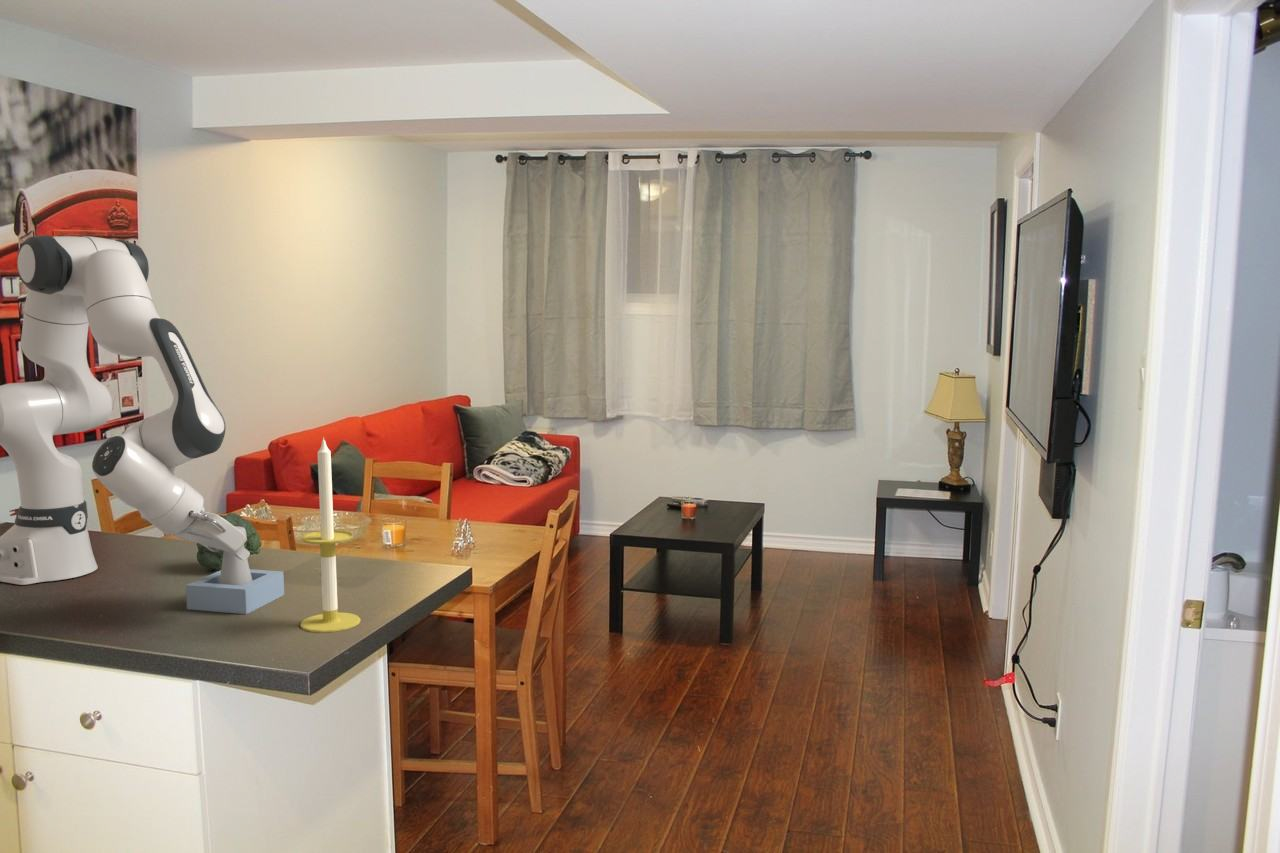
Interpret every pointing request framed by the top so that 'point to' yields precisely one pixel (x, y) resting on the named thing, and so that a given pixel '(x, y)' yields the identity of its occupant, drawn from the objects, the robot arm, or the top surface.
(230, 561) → the salt shaker
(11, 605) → the top surface
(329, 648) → the top surface
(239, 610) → the container
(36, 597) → the top surface
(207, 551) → the vegetable
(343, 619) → the candle
